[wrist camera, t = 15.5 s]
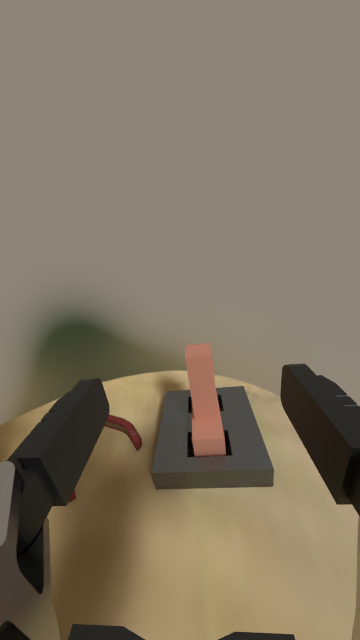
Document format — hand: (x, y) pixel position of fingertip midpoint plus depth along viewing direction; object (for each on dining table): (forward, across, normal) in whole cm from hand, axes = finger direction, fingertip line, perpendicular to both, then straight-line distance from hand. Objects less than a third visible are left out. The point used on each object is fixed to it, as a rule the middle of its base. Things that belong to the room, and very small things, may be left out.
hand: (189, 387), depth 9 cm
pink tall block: (+15, -1, +22) cm, 26 cm away
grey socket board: (+15, 0, +22) cm, 26 cm away
